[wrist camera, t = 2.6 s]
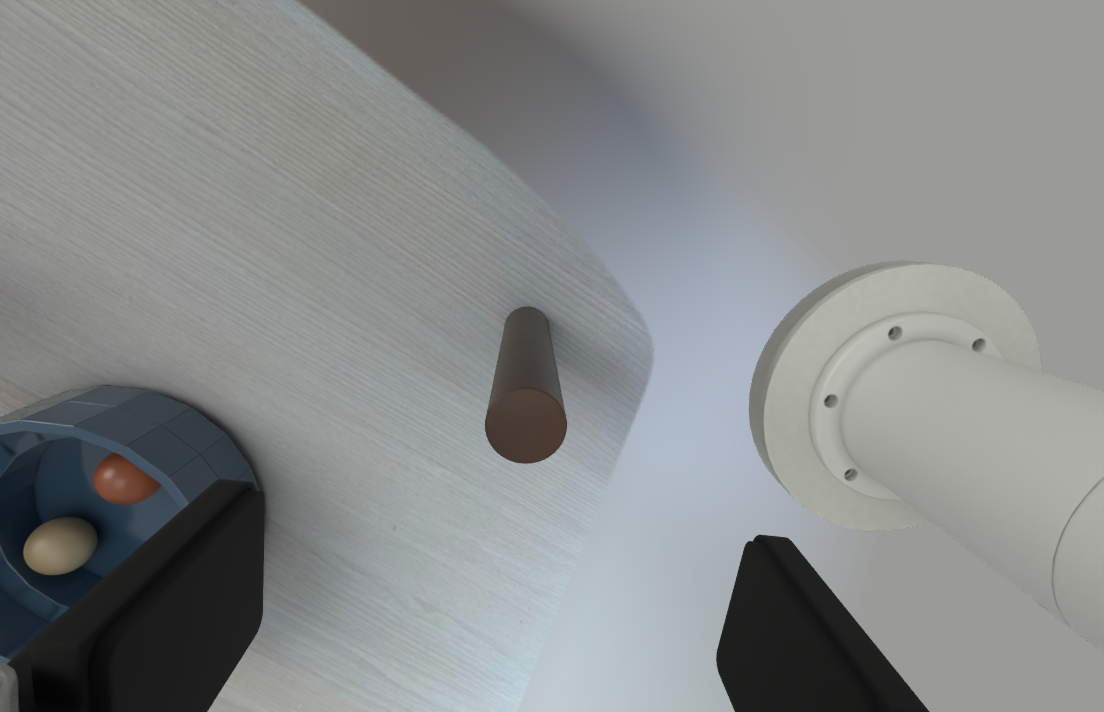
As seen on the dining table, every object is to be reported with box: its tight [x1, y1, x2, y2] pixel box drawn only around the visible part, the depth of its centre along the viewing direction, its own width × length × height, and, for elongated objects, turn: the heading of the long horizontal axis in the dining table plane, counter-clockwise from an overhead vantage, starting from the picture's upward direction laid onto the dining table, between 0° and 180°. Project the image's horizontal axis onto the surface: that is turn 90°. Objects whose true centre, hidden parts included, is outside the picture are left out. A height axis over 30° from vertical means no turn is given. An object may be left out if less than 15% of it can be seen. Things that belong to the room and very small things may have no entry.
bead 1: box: [23, 517, 98, 575], centre depth 32 cm, size 3×3×3 cm
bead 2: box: [93, 452, 161, 505], centre depth 31 cm, size 3×3×3 cm
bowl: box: [0, 385, 259, 664], centre depth 31 cm, size 15×15×6 cm
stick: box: [485, 307, 567, 464], centre depth 24 cm, size 3×3×15 cm
